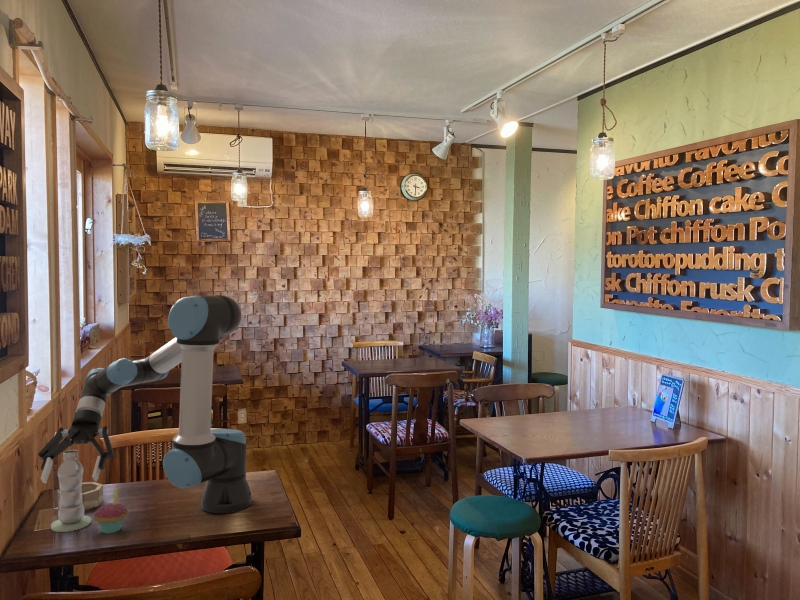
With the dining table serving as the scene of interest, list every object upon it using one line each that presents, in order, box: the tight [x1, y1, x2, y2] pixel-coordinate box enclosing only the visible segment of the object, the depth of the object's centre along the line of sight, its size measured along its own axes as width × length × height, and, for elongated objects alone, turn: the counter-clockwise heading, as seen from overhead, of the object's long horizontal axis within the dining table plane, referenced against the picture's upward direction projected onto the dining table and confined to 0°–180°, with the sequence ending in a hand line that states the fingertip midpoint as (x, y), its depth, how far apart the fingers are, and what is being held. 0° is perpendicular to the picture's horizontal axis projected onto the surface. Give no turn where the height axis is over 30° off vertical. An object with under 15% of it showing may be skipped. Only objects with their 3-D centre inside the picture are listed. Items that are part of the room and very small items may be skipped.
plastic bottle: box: [56, 449, 86, 524], centre depth 173 cm, size 6×7×20 cm
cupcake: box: [92, 485, 129, 534], centre depth 170 cm, size 9×8×12 cm
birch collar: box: [57, 481, 104, 511], centre depth 189 cm, size 11×11×5 cm
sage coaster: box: [50, 515, 92, 533], centre depth 174 cm, size 10×10×1 cm
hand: (69, 480), depth 173 cm, fingers open, 13 cm apart
